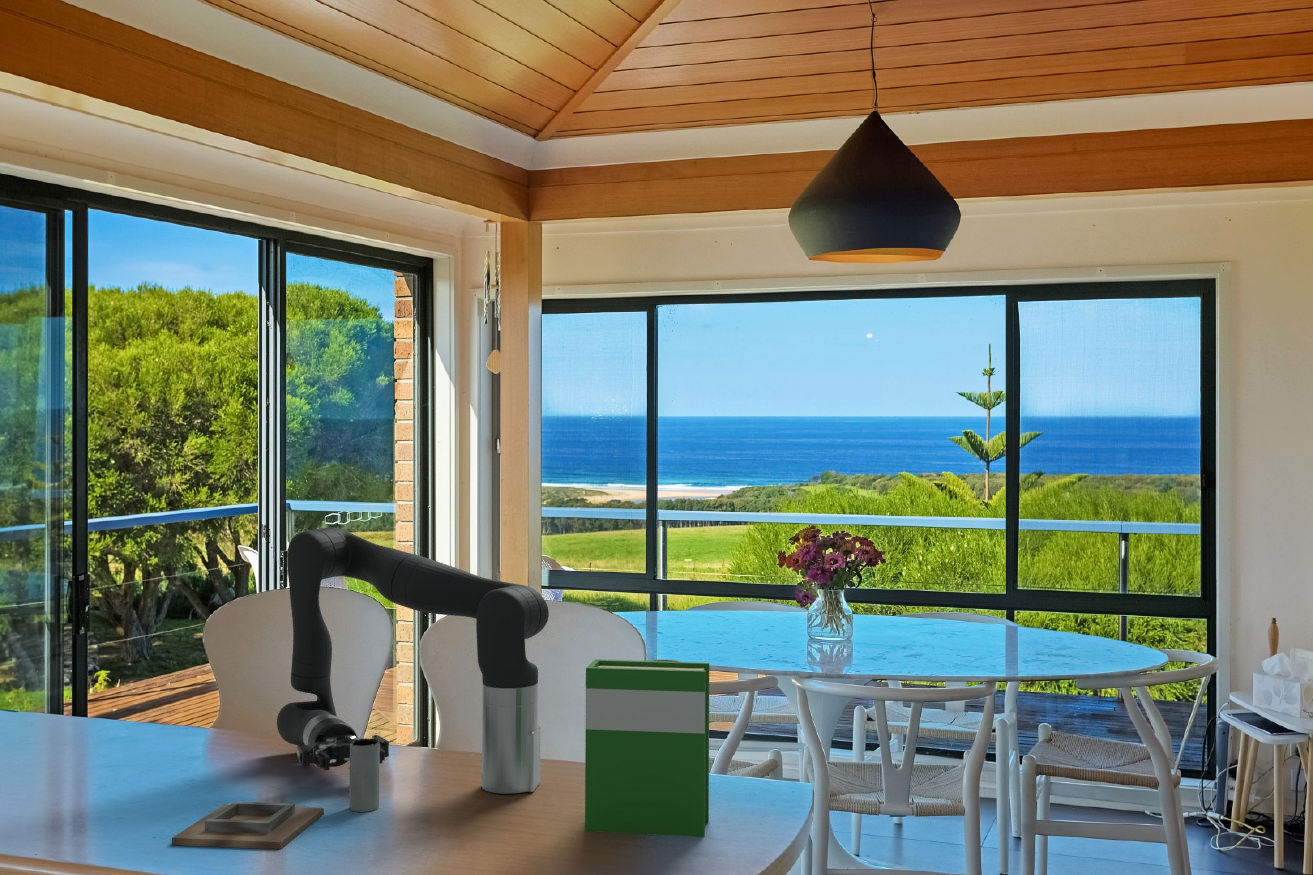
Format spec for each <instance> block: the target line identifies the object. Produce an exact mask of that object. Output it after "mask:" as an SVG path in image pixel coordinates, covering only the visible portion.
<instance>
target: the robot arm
mask: <svg viewBox="0 0 1313 875" xmlns="http://www.w3.org/2000/svg"><path fill="white" fill-rule="evenodd" d="M286 561H287V563H286V564H287V578H288V587H289V598H290V610H291V619H292V620H291V621H292V630H293V632H292V634H293V636H292V637H293V640H292V652H291V653H292V655H291V656H292V657H291V658H292V659H291V667H290V668H291V669H290V670H291V671H290V686H291V687H292V688H293V690H294V691H295V690H296V691H298V692H301V693H305V694H310V695H311V694H312V695H315V696H316V700H306V701H294V702H293V701H292V702H289V703H287V704H285V705H283V707H282V708H281V709H280V710H279V711H278V714H277V718H276V728H277V732H278V734H279V736H280V737H281V739H283V741H285V742H286V743H288V744H290V745H295V746H296V747H297V750H296V751H297V753H296V754H297V761H298V762H299V764H300V766H301V767H302V768H308V767H311V764H314V767H317V768H319V769H323V770H324V771H330V770H331V768H336V767H337V768H338V767H340V766H343V765H345V764H347V763H348V762H350V743H351V742H352V741H354V740H358V739H366V738H364V737H358V734H357V733H356V730H354V728H353V727H352V726H350V725H349V724H348V723H347V722H346V721H344V720H342V718H340V717H338V716H337V710H336V707H335V702H334V699H333V693H332V686H331V674H332V673H331V672H332V670H331V669H332V659H333V658H332V657H333V645H332V644H333V643H332V637H331V634H330V632H329V630H328V627H327V625H326V622H325V620H324V617H323V614H322V612H321V611H322V610H321V606H320V591H321V584H322V581H323V580H326V579H330V578H331V579H332V578H336V577H345V578H346V577H347V578H352V579H355V580H359V581H363V582H366V583H368V584H370V585H372V586H373V587H374V588H375V589H376V591H378V592H379V594H380V595H381V596H382V597H384V599H386V600H388V601H389V602H391V603H393V604H396V605H398V606H400V607H404V608H407V609H409V610H413V611H417V612H421V613H425V614H426V613H427V614H433V615H443V616H455V617H456V616H457V617H466V618H472V619H475V621H476V624H475V626H476V628H475V629H476V650H477V651H476V652H477V663H478V667H479V670H480V672H481V676H482V680H481V681H482V686H481V687H482V691H481V692H482V699H481V700H482V702H481V704H482V706H481V711H482V713H481V718H482V719H481V720H482V721H481V788H482V790H484V791H486V792H488V793H494V794H504V795H505V794H507V795H508V794H521V793H526V792H527V793H533V792H534V791H535V790H536V789H537V787H538V786H539V785H540V783H541V726H540V725H539V722H538V721H539V719H538V718H539V716H538V715H539V711H538V710H539V709H538V708H539V706H538V705H539V694H538V693H539V669H538V667H537V665H536V664H534V663H533V662H530V661H529V659H528V658H527V655H526V654H527V652H526V640H527V639H530V638H532V637H535V636H536V635H538V634H539V633H541V631H543V629H544V628H545V626H546V625H547V623H548V621H549V614H550V613H549V607H548V604H547V602H546V600H545V598H544V597H543V595H542V594H541V593H540V592H539V591H537V590H536V589H534V588H532V587H531V586H529V585H524V584H519V583H513V582H508V581H501V580H496V579H492V578H486V577H482V576H479V575H476V574H474V573H471V572H469V571H466V570H463V569H461V568H458V567H455V566H452V565H449V564H445V563H443V562H440V561H437V560H433V559H432V558H427V557H425V556H421V555H418V554H414V553H410V552H406V551H403V550H400V549H396V548H393V547H388V546H384V545H379V544H376V543H374V542H372V541H369V540H367V539H365V538H363V537H360V536H358V535H356V534H354V533H351V532H349V531H347V530H345V529H342V528H339V527H333V526H332V527H331V526H330V527H321V528H317V529H316V528H315V529H311V530H305V531H300V532H298V533H297V534H295V536H293V537H292V539H291V540H290V541H289V545H288V548H287V556H286ZM371 739H376V740H379V741H380V765H381V764H382V763H384V762H383V761H385V760H386V758H389V757H390V752H389V751H390V746H389V745H390V741H389V740H387V739H385V738H384V737H382V736H380V735H378V734H374V735H372V736H371Z"/></svg>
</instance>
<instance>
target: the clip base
mask: <svg viewBox="0 0 1313 875" xmlns="http://www.w3.org/2000/svg"><path fill="white" fill-rule="evenodd" d="M324 814H325V808H324V807H306V806H303V807H302V806H296V803H289V802H288V803H284V802H283V803H282V802H281V803H280V802H259V801H258V802H257V801H256V802H255V801H254V802H253V801H233V802H232V803H229V804H222V805H221V806H220V807H218V808H216V809H215V810H213V811H211V812H210V813H208V814H206V815H205V816H203V817H202V818H201V819H199V820H197V821H196V822H194V823H193V824H191V825H189V826H188V827H187V828H185V829H183V830H182V831H180V832H178V833H177V834H176V835H174V836H173V837H171V846H186V847H187V846H191V847H216V848H241V849H242V848H245V849H269V850H270V849H271V850H283V848H284V847H286V846H287V845H288V844H289V843H291V842H292V841H293V840H294V839H296V838H297V837H298V836H299V835H301V833H303V832H304V831H306V830H307V829H308V828H309V827H310V826H311V825H313V824H314V823H315V822H316V821H318V820H319V819H320V818H321V817H323V816H324Z"/></svg>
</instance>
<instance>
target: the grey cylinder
mask: <svg viewBox="0 0 1313 875" xmlns="http://www.w3.org/2000/svg"><path fill="white" fill-rule="evenodd" d="M380 765H381V764H380V741H379V740H376V739H372V738H365V739H358V740H354V741H352V742H351V743H350V761H349V796H348V797H349V804H348V805H349V810H350V811H353V812H355V813H356V812H358V813H364V812H365V813H366V812H373V811H375V810H377V809H379V808H380Z"/></svg>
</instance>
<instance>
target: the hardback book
mask: <svg viewBox="0 0 1313 875" xmlns="http://www.w3.org/2000/svg"><path fill="white" fill-rule="evenodd" d="M584 742H585V744H584V746H585V748H584V749H585V750H584V752H585V760H584V762H585V764H584V765H585V768H584V775H585V776H584V778H585V779H584V781H585V782H584V783H585V784H584V795H585V796H584V814H585V815H584V832H591V833H593V832H594V833H612V834H631V835H632V834H635V835H636V834H637V835H651V836H652V835H653V836H654V835H656V836H674V837H675V836H676V837H677V836H678V837H696V838H697V837H698V838H699V837H701V838H705V835H706V824H709V821H710V820H709V819H710V818H709V816H710V813H709V810H710V808H709V807H710V662H699V661H697V662H696V661H681V662H668V661H647V660H631V659H630V660H629V659H628V660H624V659H623V660H622V659H594V660H592V662H590V664H588V665H587V666H586V667H585V740H584Z"/></svg>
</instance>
